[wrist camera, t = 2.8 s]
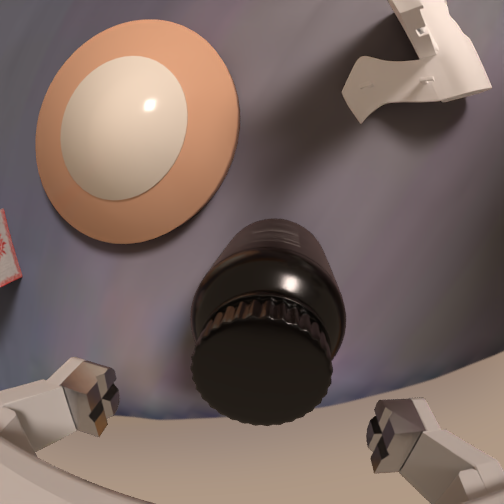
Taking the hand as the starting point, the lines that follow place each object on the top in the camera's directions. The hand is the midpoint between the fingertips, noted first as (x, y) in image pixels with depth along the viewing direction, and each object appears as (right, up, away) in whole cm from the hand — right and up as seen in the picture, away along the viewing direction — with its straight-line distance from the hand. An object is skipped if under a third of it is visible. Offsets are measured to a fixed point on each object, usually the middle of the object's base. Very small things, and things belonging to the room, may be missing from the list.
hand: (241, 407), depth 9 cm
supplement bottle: (+2, +3, +13) cm, 14 cm away
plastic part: (+10, +18, +8) cm, 22 cm away
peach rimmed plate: (-8, +13, +11) cm, 19 cm away
